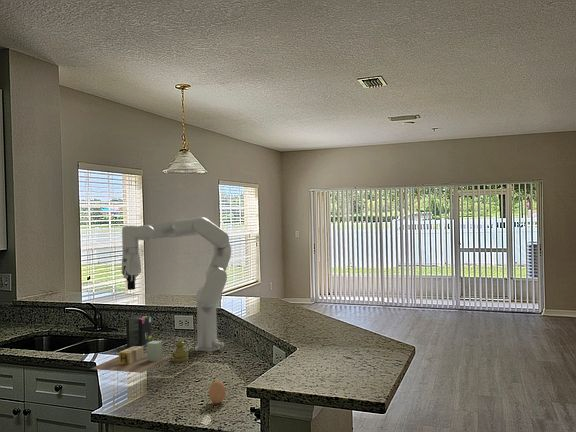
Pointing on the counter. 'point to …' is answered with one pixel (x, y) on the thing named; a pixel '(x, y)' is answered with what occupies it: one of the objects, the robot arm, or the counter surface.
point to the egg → (217, 392)
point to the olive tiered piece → (180, 353)
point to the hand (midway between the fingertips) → (131, 289)
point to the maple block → (131, 355)
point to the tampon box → (138, 331)
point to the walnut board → (131, 365)
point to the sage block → (154, 351)
